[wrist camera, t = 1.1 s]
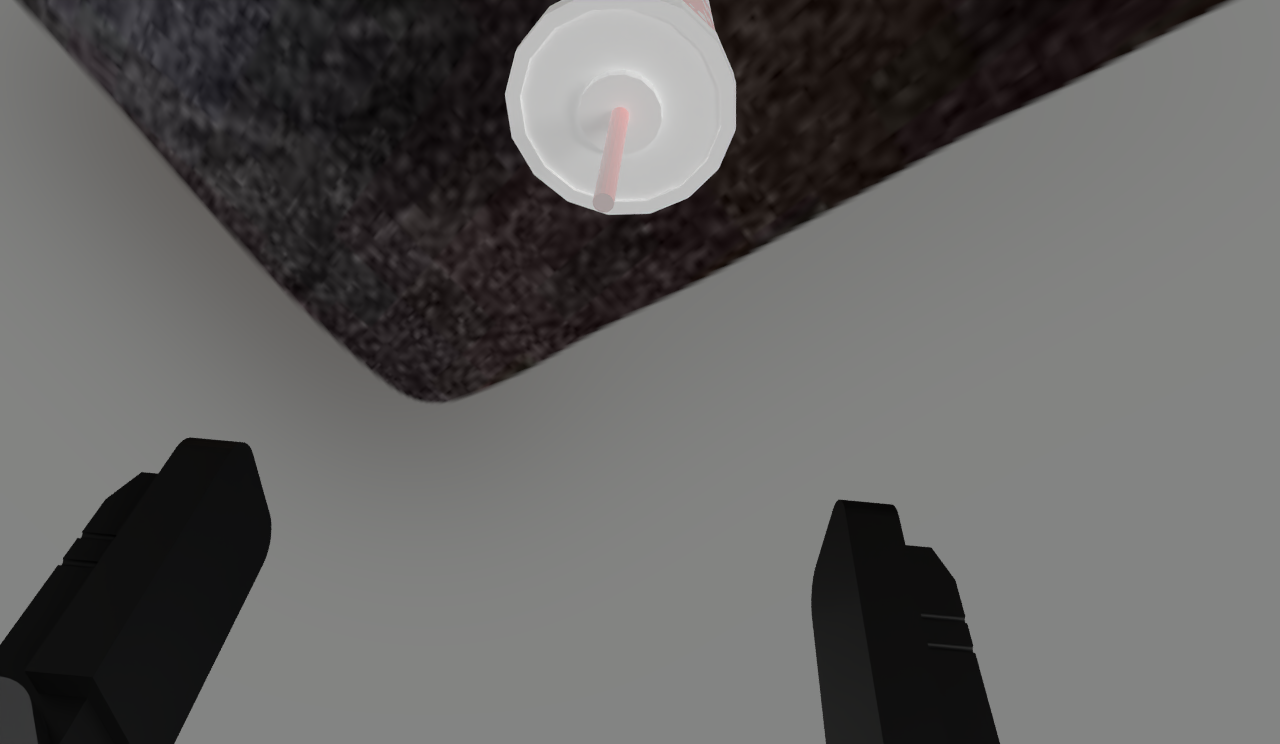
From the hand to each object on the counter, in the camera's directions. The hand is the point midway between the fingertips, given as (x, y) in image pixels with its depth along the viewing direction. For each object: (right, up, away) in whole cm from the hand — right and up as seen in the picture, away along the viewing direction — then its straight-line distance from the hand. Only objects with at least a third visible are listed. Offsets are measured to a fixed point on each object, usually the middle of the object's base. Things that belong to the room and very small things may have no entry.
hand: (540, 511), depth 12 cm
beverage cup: (+1, +15, +18) cm, 23 cm away
